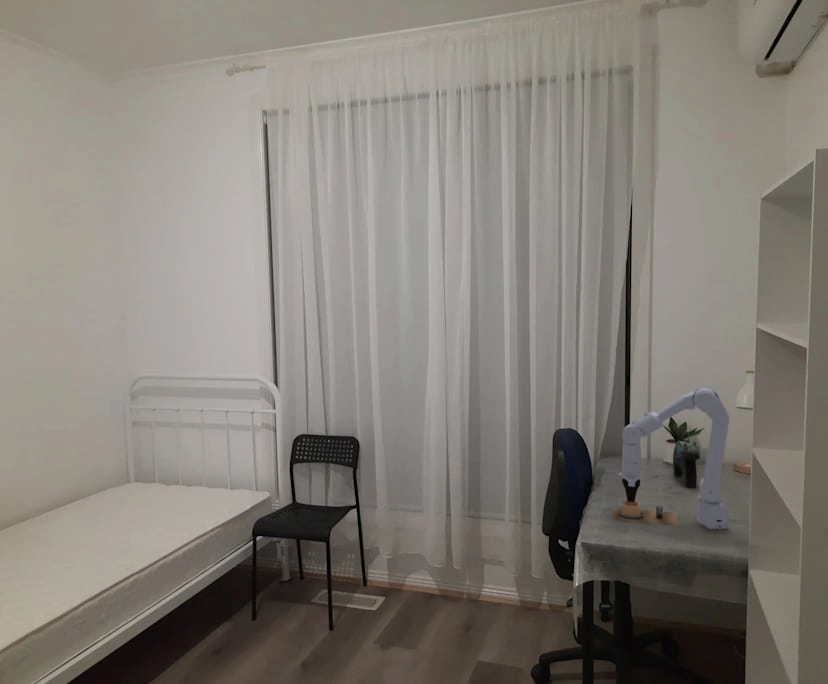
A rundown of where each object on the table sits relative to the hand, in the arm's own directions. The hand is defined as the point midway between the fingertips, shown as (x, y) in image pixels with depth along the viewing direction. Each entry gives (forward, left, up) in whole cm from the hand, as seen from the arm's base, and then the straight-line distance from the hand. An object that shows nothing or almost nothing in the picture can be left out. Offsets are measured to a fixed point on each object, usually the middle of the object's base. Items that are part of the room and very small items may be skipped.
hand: (630, 501), depth 209 cm
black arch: (+35, -36, -6) cm, 50 cm away
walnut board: (-4, -3, -5) cm, 7 cm away
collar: (-2, +1, -3) cm, 4 cm away
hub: (-2, +1, -4) cm, 4 cm away
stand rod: (-6, -7, -4) cm, 10 cm away
